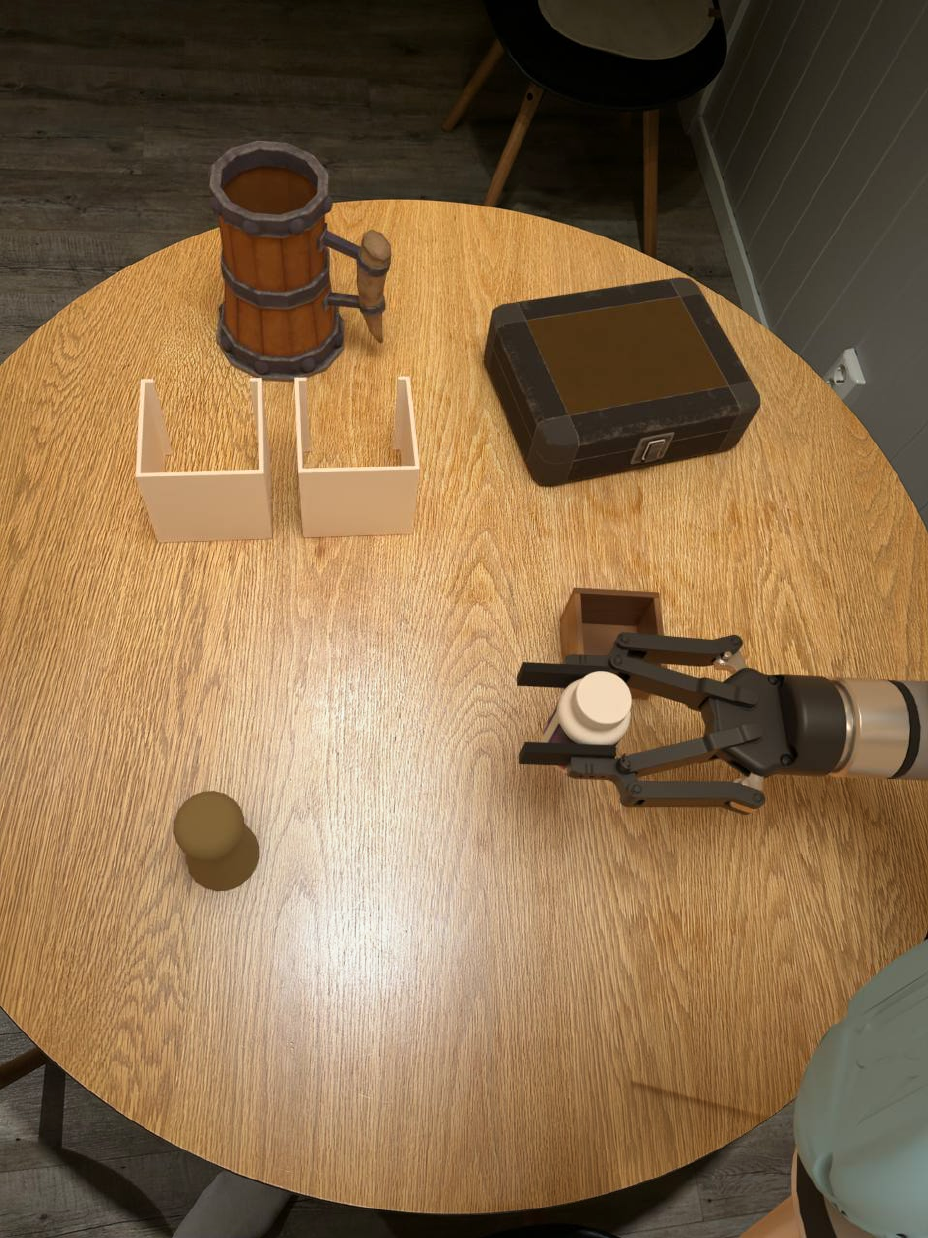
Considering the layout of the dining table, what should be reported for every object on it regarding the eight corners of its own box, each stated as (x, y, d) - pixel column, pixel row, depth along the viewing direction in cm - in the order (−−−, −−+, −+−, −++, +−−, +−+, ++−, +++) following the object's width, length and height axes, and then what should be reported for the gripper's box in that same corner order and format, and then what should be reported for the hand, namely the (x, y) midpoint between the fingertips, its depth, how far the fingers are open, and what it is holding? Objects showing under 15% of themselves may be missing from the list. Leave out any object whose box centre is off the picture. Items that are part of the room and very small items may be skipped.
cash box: (537, 496, 99) (551, 451, 92) (478, 353, 108) (487, 302, 101) (744, 453, 105) (771, 408, 98) (672, 321, 113) (693, 271, 107)
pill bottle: (614, 772, 73) (650, 729, 64) (548, 780, 72) (575, 738, 64) (599, 707, 75) (631, 657, 67) (534, 715, 75) (558, 665, 66)
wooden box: (647, 699, 90) (668, 672, 84) (563, 695, 89) (578, 667, 83) (640, 623, 94) (659, 592, 88) (559, 618, 93) (573, 587, 87)
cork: (172, 874, 78) (148, 841, 68) (208, 808, 80) (189, 767, 71) (238, 903, 77) (223, 874, 67) (272, 836, 80) (262, 799, 70)
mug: (402, 315, 109) (413, 162, 91) (368, 408, 102) (373, 263, 84) (241, 273, 109) (221, 113, 91) (196, 363, 102) (166, 209, 85)
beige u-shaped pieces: (157, 542, 92) (135, 476, 82) (161, 451, 97) (140, 379, 87) (412, 533, 95) (419, 469, 86) (403, 446, 100) (409, 376, 91)
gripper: (825, 861, 69) (515, 852, 67) (787, 637, 78) (510, 622, 76) (875, 836, 63) (533, 825, 60) (828, 594, 71) (526, 576, 69)
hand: (521, 712), depth 68 cm, fingers closed on pill bottle, 5 cm apart
